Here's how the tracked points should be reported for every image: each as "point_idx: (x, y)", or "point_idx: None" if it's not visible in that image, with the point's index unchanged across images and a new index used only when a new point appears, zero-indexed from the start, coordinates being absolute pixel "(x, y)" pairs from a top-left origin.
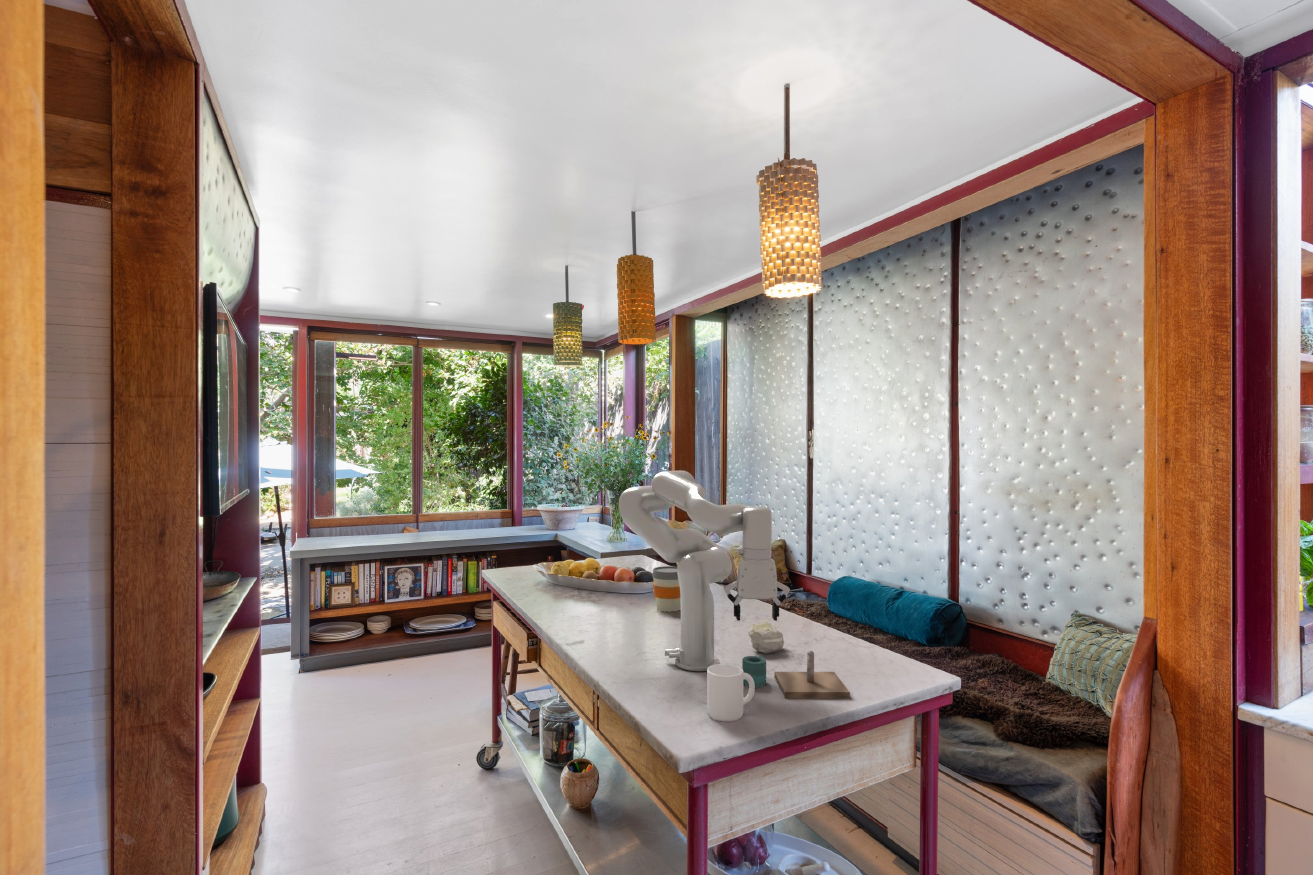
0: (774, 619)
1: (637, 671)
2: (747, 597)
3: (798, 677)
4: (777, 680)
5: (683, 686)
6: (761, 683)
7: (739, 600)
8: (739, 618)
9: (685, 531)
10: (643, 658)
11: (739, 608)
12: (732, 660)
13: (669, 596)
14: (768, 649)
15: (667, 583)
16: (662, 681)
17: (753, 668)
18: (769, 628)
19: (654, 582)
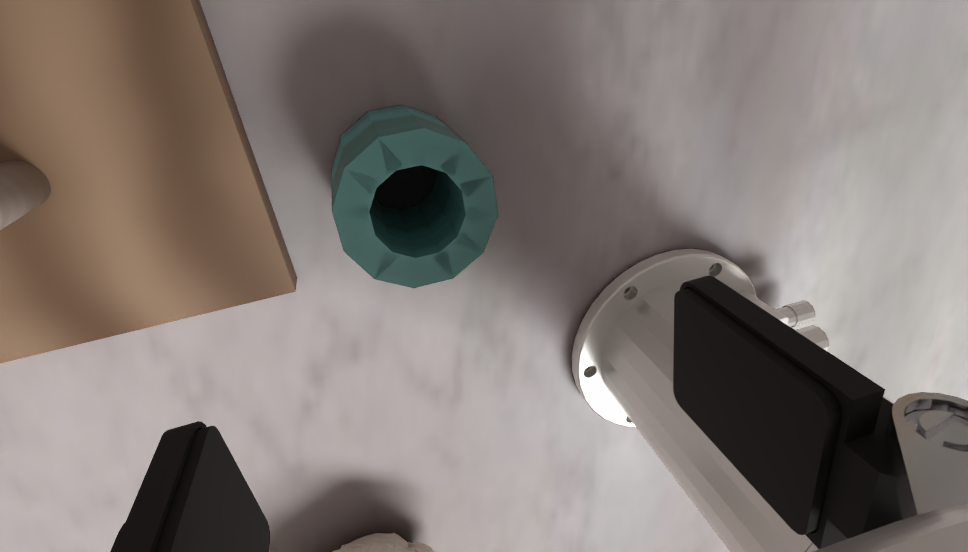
0: (206, 429)
1: (896, 193)
2: (952, 544)
3: (126, 234)
4: (265, 197)
5: (747, 44)
6: (355, 126)
7: (948, 483)
8: (701, 287)
9: None
10: (847, 334)
11: (809, 368)
12: (513, 420)
13: None
14: (358, 545)
15: None
16: (825, 94)
17: (414, 121)
18: None
19: None
